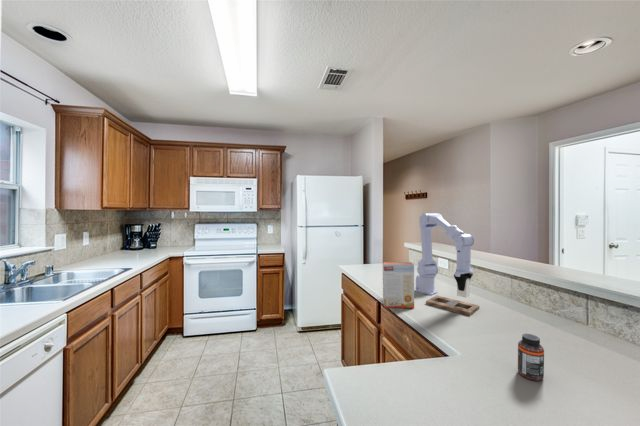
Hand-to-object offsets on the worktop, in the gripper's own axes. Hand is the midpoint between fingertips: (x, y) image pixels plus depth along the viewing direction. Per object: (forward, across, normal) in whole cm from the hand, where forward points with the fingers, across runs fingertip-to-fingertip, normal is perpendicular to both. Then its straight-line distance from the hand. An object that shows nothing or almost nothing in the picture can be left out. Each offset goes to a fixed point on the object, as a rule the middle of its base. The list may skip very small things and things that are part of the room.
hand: (463, 289), depth 128 cm
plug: (+3, 0, 0) cm, 3 cm away
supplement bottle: (+10, -38, -32) cm, 51 cm away
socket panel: (+9, 0, +5) cm, 11 cm away
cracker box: (+10, -18, +23) cm, 31 cm away
